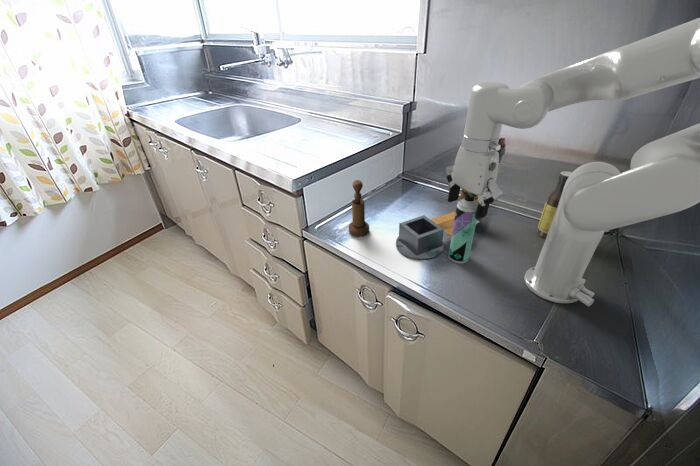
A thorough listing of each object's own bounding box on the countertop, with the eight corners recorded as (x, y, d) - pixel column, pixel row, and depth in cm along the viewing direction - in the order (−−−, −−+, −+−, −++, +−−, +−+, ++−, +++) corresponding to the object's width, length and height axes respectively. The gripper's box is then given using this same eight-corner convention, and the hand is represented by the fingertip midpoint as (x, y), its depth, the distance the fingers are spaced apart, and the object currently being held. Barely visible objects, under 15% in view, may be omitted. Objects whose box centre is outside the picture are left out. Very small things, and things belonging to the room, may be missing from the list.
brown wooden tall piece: (346, 235, 101) (343, 184, 91) (352, 225, 106) (349, 175, 96) (366, 238, 99) (365, 186, 89) (371, 227, 105) (371, 177, 94)
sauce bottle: (562, 241, 94) (587, 179, 83) (539, 240, 95) (561, 178, 84) (554, 229, 99) (577, 169, 88) (532, 228, 100) (552, 169, 89)
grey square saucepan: (470, 244, 95) (474, 224, 91) (414, 266, 87) (416, 245, 84) (439, 222, 105) (441, 204, 101) (387, 240, 98) (387, 221, 94)
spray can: (455, 249, 93) (466, 187, 82) (472, 257, 90) (486, 194, 78) (444, 257, 90) (454, 194, 79) (461, 266, 87) (474, 201, 76)
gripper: (524, 151, 67) (503, 220, 76) (464, 130, 79) (453, 192, 89) (498, 158, 64) (480, 229, 74) (440, 135, 77) (432, 198, 86)
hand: (465, 208), depth 81 cm, fingers open, 9 cm apart
